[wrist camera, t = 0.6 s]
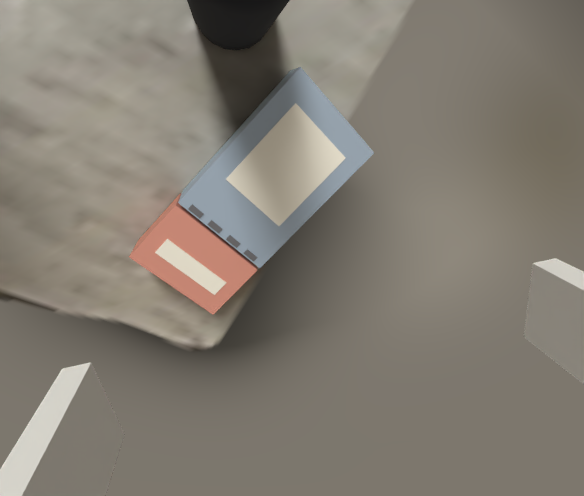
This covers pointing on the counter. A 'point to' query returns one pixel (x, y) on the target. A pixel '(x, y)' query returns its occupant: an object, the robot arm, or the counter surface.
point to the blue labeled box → (276, 169)
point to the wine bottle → (235, 20)
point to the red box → (192, 258)
